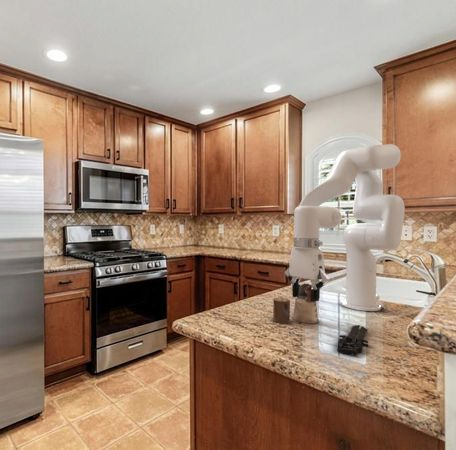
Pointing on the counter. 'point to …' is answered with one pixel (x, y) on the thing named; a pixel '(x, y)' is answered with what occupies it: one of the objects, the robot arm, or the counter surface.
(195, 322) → the counter surface
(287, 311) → the glossy brown cylinder
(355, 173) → the robot arm
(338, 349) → the dark flat slotted piece
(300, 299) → the figurine
